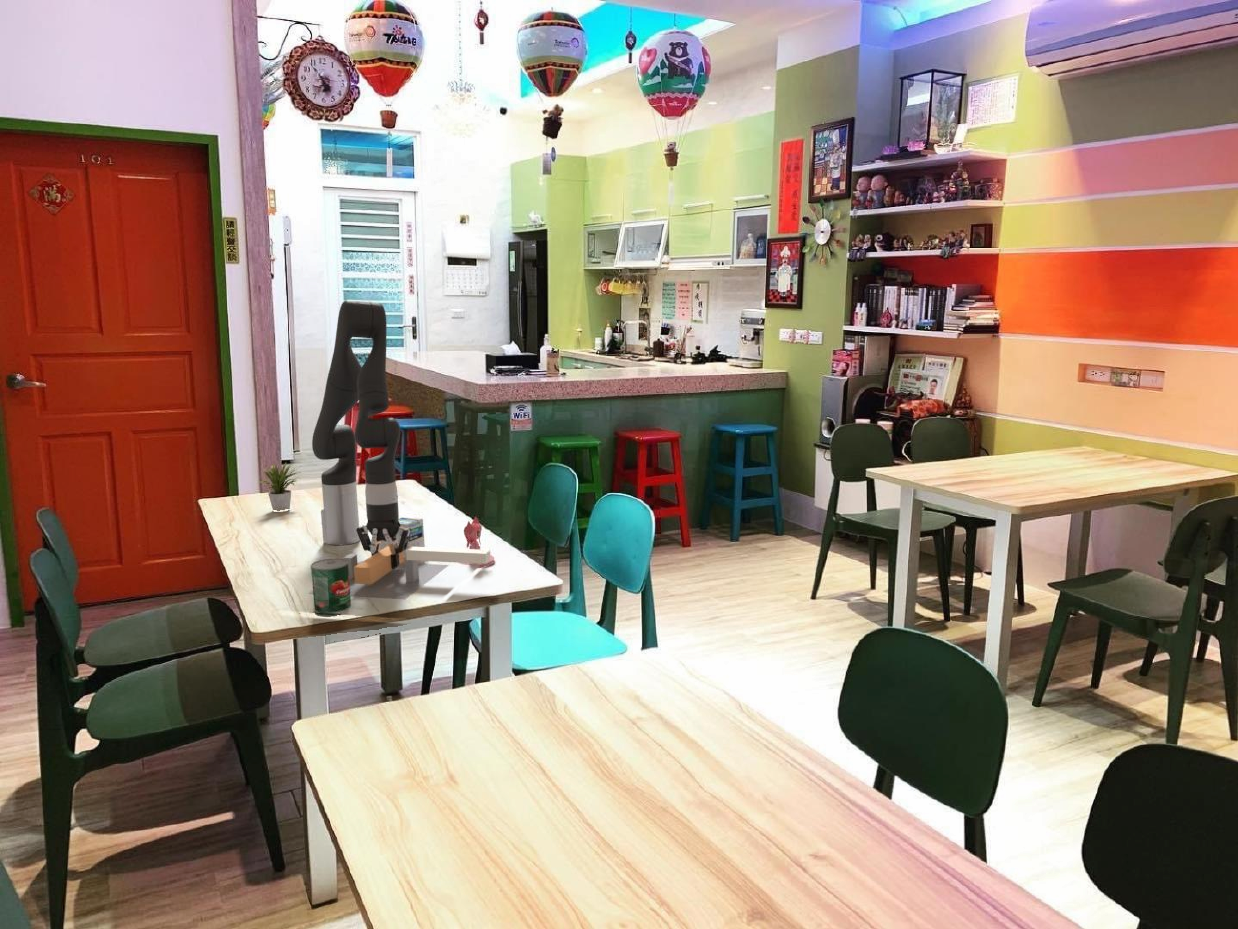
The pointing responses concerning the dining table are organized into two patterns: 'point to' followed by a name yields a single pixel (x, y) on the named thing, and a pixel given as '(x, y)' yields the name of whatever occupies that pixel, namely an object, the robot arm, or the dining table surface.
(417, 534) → the light bulb box
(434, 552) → the cream bar
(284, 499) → the house plant
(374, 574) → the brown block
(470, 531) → the toy figure
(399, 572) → the cable board
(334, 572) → the canned tomato
